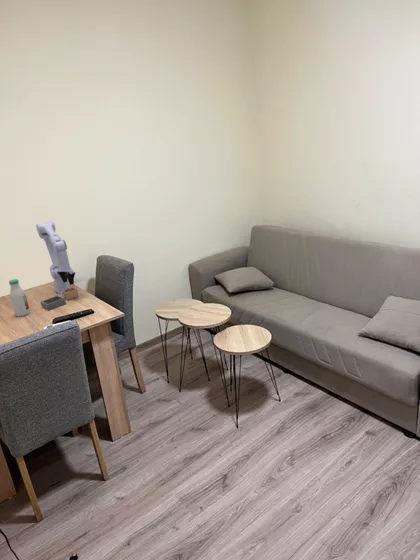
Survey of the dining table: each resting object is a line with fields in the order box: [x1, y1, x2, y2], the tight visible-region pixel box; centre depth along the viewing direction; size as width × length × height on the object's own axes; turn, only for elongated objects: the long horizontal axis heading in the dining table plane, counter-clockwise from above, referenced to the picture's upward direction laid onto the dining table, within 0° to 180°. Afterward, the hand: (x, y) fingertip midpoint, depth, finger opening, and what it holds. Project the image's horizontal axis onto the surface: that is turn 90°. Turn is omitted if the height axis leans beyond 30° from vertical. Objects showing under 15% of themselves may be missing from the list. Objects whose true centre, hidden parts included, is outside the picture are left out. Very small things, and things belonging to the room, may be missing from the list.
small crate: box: [62, 286, 80, 301], centre depth 239 cm, size 5×7×5 cm
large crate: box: [40, 295, 67, 311], centre depth 230 cm, size 9×11×4 cm
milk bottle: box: [8, 278, 31, 317], centre depth 220 cm, size 8×8×20 cm
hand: (68, 283), depth 236 cm, fingers open, 7 cm apart
